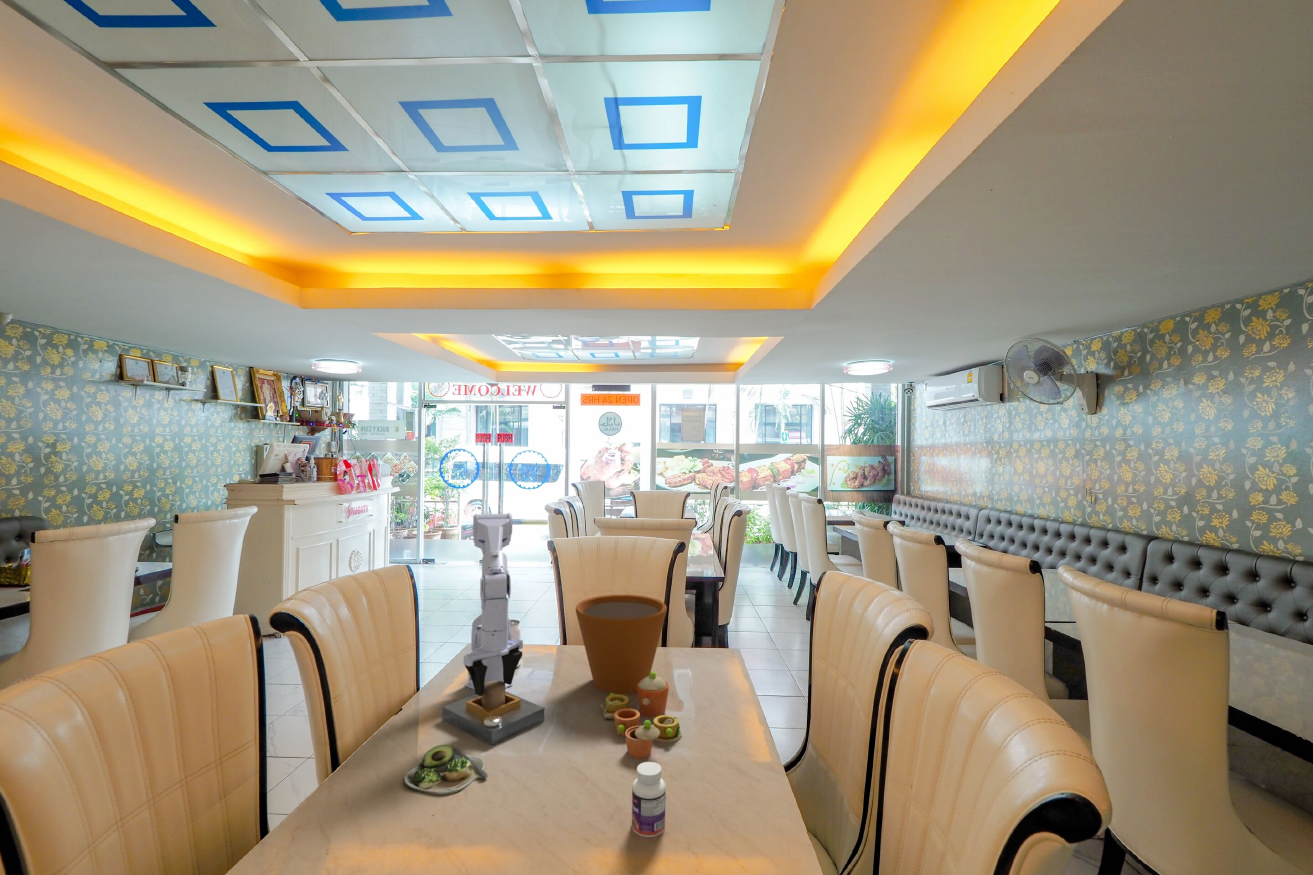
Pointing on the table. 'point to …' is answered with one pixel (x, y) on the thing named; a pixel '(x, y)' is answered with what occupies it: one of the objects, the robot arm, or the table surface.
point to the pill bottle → (648, 800)
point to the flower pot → (620, 638)
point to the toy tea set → (651, 705)
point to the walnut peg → (493, 695)
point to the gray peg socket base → (493, 717)
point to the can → (516, 632)
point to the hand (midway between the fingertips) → (493, 688)
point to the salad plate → (444, 770)
